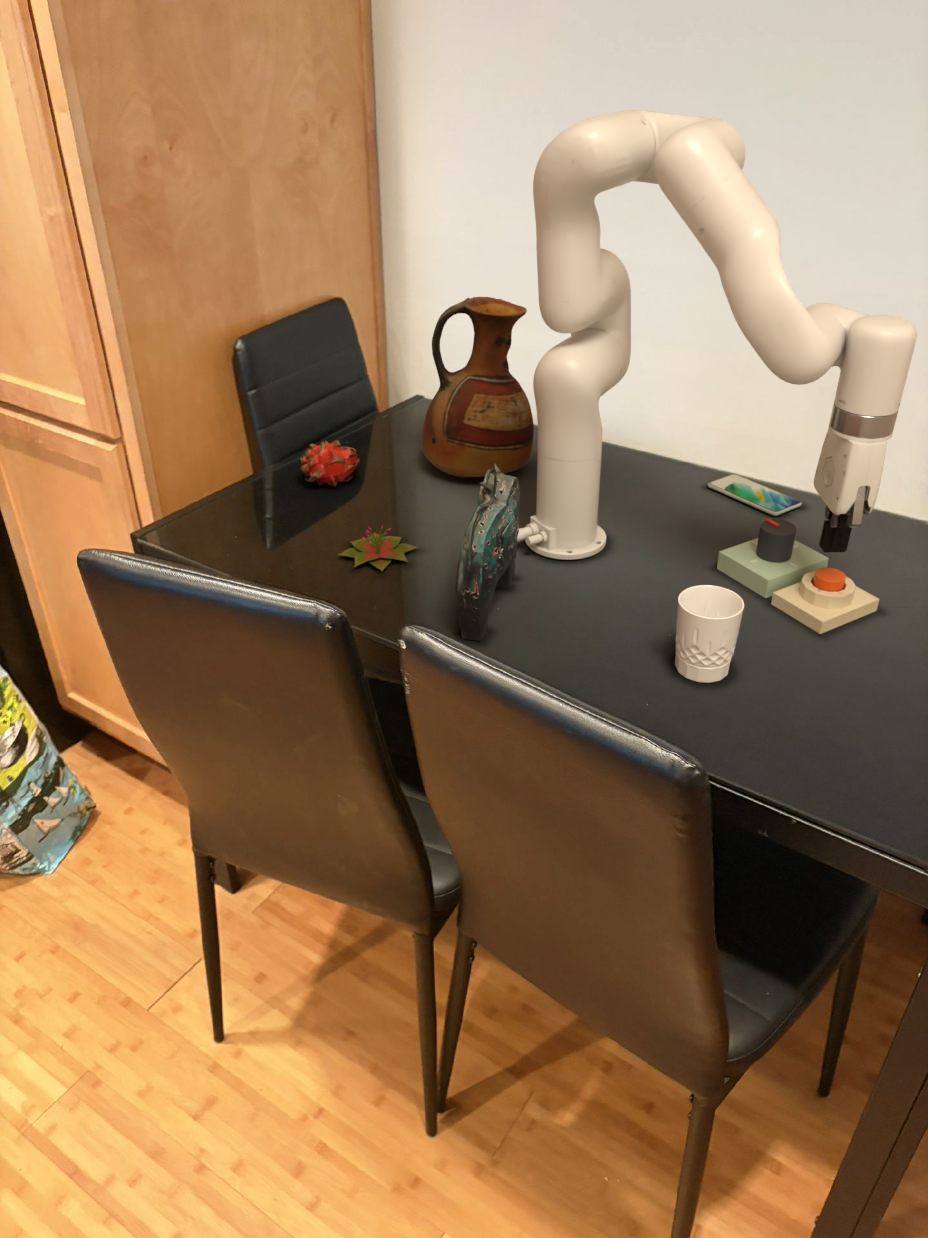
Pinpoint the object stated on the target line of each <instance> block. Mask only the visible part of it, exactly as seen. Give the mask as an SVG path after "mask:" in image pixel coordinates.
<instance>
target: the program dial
mask: <svg viewBox="0 0 928 1238" xmlns="http://www.w3.org/2000/svg"><path fill="white" fill-rule="evenodd" d="M796 535H797V526H796V525H795V524H794V523H792V522H790V521H787V520H784V519H780V518H777V519H776V518H769V517H767V518H765V519H764V520H763V521H762V522H761V523H760V525H759V532H758V537H757V538H758V543H757V549H756V554H757V556H758V557H760V558H761V559H763V560H766V561H769V562H785V561H788V560H789V559H790V558H791V556H792V551H793V546H794V540H796Z"/></svg>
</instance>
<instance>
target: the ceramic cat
mask: <svg viewBox="0 0 928 1238" xmlns="http://www.w3.org/2000/svg"><path fill="white" fill-rule="evenodd" d="M494 466H495V469H492V468H491V469H489V470H488V471H487V473H486V475H485V477H484V479H483V481H482V482H479V486H480V487H479V490H478V494H477V495H478V496H477V507H476V509H475V510H474V512H473V514H472V516H471V518H470V520H469V522H468V523H467V526H466V528H465V530H464V532H463V533H464V534H463V537H462V541H461V547H460V551H459V556H458V561H457V568H456V575H455V587H454V590H455V604H456V610H457V611H456V612H457V616H458V620H459V627H460V633H461V634H460V635H461V638H462V639H464V640H469V641H477V642H481V641H482V640H483V639H484V638H485V637H486V633H487V630H488V623H489V615H490V610H491V607H492V601H493V599H494V594H495V591H496V588H501V589H502V588H503V589H510V587H511V583H512V581H513V580H514V577H515V568H516V557H517V552H518V551H517V549H518V547H517V546H518V542H517V536H518V532H519V528H520V525H519V524H520V523H519V514H520V513H519V512H520V504H521V503H520V502H521V494H520V492H521V491H520V483H519V479H518V477H516V476H513V475H508V474H506V473H505V474H503V473H502V472H501V471H500V469H499V468H498V466H497V465H496V464H495V463H494ZM491 472H493V473H492V474H491Z"/></svg>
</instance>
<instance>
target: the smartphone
mask: <svg viewBox="0 0 928 1238" xmlns="http://www.w3.org/2000/svg"><path fill="white" fill-rule="evenodd" d="M707 487H708V489H712V490H714V491H716V492H719V493H721V494H723V495H725V496H727V497H730V498H732V499H734V500H736V501H739V502H741V503H744V504H745V505H748V506H750V507H752V508H754V509H756V510H759V511H761V512H762V513H766V514H768V515H770V516H773V517H778V516H780V515H783V514H784V513H787V512H790V511H792V510H795V509H798V508H799V507H801V506H802V501H801V500H799V499H797V498H795V497H792V496H790V495H787V494H785V493H782V492H780V491H778V490H775V489H772V488H770V487H768V486H766V485H763V484H760V483H758V482H756V481H753V480H751V479H749V478H746V477H745V476H742V475H739V474H736V473H730V474H728V475H725V476H722V477H719V478H716V479H713V480H711V481H708V483H707Z"/></svg>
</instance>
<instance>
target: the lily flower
mask: <svg viewBox="0 0 928 1238" xmlns="http://www.w3.org/2000/svg"><path fill="white" fill-rule="evenodd" d="M383 528H384V525H383V524H382V526H381V528H380V529H379V533H377V532H376V531H374V532H373V530H372V528H371V527H370V526H368V529H369V530H368V529H366V530H365V534H366V537H364V536H362V538H359V539H355V540H352V541H350V544H351V545H352V546H353V547H350V548H347V549H346V550H344V551H342V552H341V553H338V554H337V556H342V557H348V558H353V559H354V568H356V567H358V566H360V565H362V564H365V563H366V562H367V563H369V564H370V565H372V566H373V567H375V568H376V569H378V570H380V571H381V572H383V571H384V569H386V568H387V566H388V565H390V564H391V562H392V560H393V559H394V560H397V561H398V560H399V561H403V562H407V563H409V561H408V560H407V557H406V553H407V552H410V551H412V550H414V549H415V550H416V549H418V548H419V547H418V546H414V545H411V544H409V543H400V542H401V540H402V536H393V535H388V534H389V533H388V532H387V531H390V530H391V529H392V528H391V527H389V528H387V530H384V532H383V533H382V530H383ZM381 533H382V534H381Z"/></svg>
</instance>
